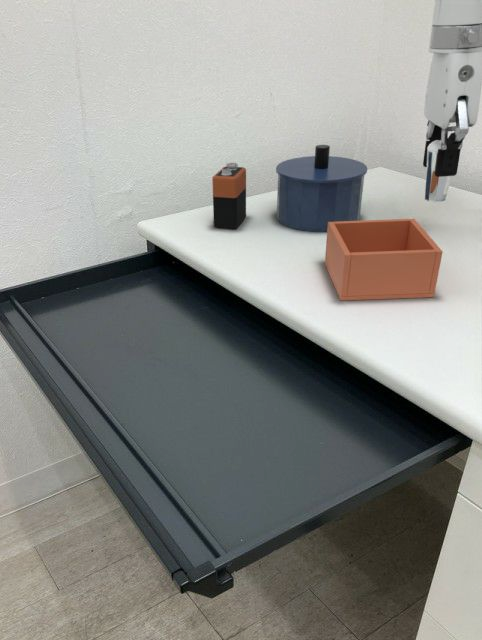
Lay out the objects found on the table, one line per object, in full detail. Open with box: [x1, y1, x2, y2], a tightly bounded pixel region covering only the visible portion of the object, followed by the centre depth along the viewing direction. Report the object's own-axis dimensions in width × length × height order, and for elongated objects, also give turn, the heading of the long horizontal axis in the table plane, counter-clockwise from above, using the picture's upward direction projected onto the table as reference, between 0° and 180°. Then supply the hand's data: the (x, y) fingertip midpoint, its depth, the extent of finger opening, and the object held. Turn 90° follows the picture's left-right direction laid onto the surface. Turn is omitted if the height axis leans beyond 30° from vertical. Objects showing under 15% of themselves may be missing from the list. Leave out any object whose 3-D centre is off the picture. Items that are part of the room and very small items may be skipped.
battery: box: [212, 162, 247, 230], centre depth 105 cm, size 4×7×10 cm, turn 161°
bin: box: [324, 218, 444, 301], centre depth 84 cm, size 13×13×7 cm
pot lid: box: [275, 144, 368, 183], centre depth 103 cm, size 16×16×5 cm
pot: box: [276, 174, 365, 233], centre depth 106 cm, size 15×15×8 cm
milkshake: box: [424, 140, 452, 203], centre depth 93 cm, size 4×5×10 cm
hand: (439, 169), depth 93 cm, fingers closed on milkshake, 4 cm apart
